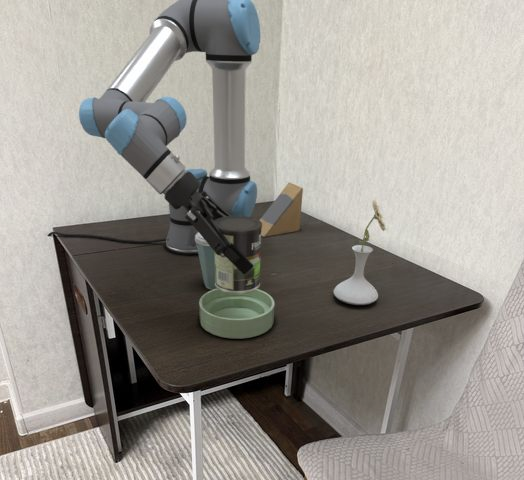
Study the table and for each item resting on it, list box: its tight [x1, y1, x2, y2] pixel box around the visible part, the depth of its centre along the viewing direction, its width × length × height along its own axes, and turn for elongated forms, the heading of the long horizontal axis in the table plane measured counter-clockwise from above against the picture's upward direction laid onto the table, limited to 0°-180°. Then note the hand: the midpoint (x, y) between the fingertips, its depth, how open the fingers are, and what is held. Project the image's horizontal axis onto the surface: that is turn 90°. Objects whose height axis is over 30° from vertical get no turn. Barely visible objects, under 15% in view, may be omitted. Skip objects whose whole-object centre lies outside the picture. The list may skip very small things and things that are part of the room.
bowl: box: [198, 288, 276, 339], centre depth 111 cm, size 17×17×5 cm
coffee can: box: [214, 216, 262, 294], centre depth 104 cm, size 10×10×14 cm
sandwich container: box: [258, 181, 304, 238], centre depth 166 cm, size 9×15×15 cm, turn 122°
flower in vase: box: [333, 199, 387, 306], centre depth 118 cm, size 13×11×25 cm
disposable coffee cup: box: [195, 232, 217, 291], centre depth 125 cm, size 11×11×15 cm
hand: (251, 260), depth 105 cm, fingers closed on coffee can, 10 cm apart
